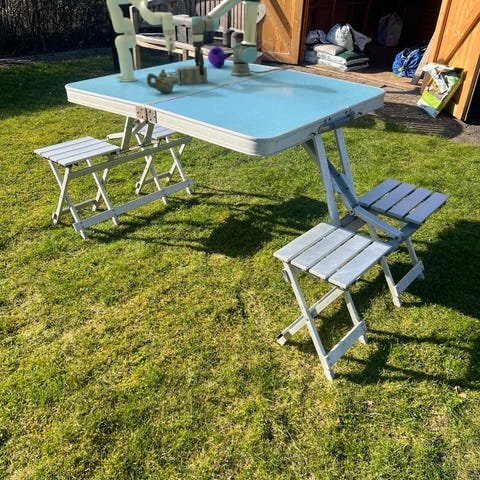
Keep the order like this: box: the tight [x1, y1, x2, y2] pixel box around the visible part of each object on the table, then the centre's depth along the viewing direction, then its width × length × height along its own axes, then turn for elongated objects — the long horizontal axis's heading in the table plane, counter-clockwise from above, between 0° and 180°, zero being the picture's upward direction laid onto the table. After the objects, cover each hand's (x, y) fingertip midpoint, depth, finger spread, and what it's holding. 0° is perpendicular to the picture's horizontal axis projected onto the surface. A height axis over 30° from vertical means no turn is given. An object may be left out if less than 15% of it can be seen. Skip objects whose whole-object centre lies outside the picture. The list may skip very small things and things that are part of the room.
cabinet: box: [176, 65, 208, 86], centre depth 328 cm, size 19×10×11 cm, turn 109°
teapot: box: [146, 68, 179, 94], centre depth 299 cm, size 21×12×15 cm, turn 109°
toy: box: [207, 46, 233, 69], centre depth 382 cm, size 16×18×27 cm
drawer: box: [167, 68, 181, 85], centre depth 326 cm, size 24×9×9 cm, turn 109°
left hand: (171, 60), depth 318 cm, fingers closed
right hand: (200, 73), depth 329 cm, fingers closed on cabinet, 10 cm apart
